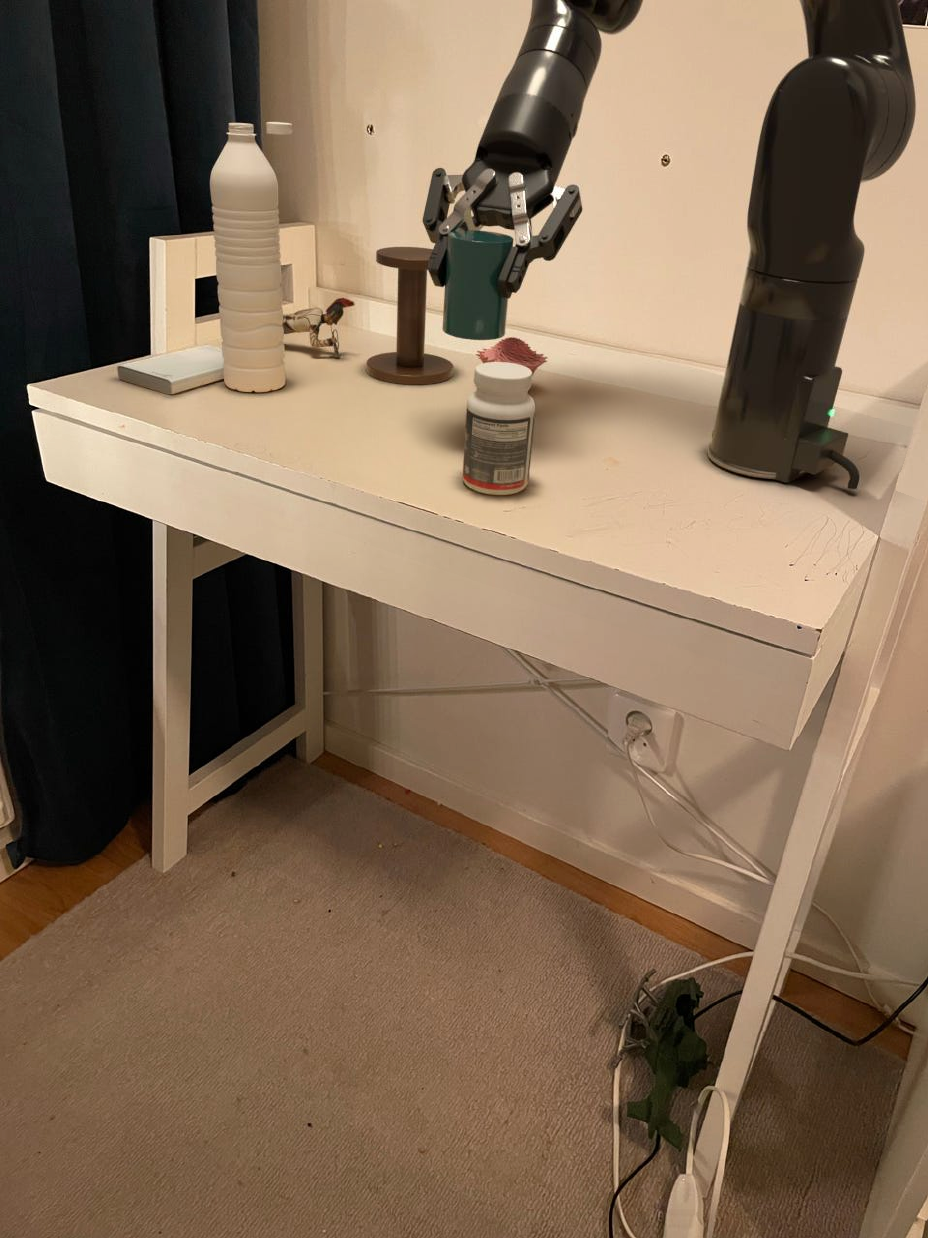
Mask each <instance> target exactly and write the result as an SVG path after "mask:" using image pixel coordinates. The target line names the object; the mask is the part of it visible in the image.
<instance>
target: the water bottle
mask: <svg viewBox="0 0 928 1238" xmlns="http://www.w3.org/2000/svg"><path fill="white" fill-rule="evenodd" d="M265 127H266V134H269V135H281V136H282V135H283V136H290V135H293V124H292V123H291V122H290V123H289V122H281V121H267V122H265ZM254 131H255V130H254V124H252V123H244V122H229V123H228V132H226V135H228V136H227V137H228V139H227V141H226V144H225V145H224V147H223V149H222V151H220V154H219V156H218V158H217V160H216V161H215V163H214V164H213V167H212V169H211V172H210V176H209V177H210V178H209V190H210V191H209V192H210V199H211V204H212V206H211V212H212V222H213V226H212V227H213V231H214V233H213V239H214V240H215V241H214V249H215V251H214V254H215V255H214V256H215V257H216V259H215V273H216V280H217V283H218V284H217V298H218V299H217V300H218V302H219V306H218V313H219V317H220V319H219V329H220V337H221V339H222V342H221V348H222V355H223V358H224V361H223V371H224V379H223V381H224V384H225V386H227V387H228V388H229V389H231V390H237V391H239V392H243V393H252V392H255V393H267V392H270V391H277V390H279V389H282V388H283V387H284V386H285V385H286V380H287V377H286V375H287V373H286V362H285V356H286V355H285V343H284V340H285V334H284V329H283V326H282V323H283V315H284V309H283V305H282V304H283V288H282V285H281V284H282V280H283V277H282V262H281V260H280V259H281V256H282V255H281V244H280V241H281V236H280V217H279V215H280V209H279V183H278V178H277V176H276V173H275V171H274V168H273V167H272V165H271V164H270V162H269V161H268V159H267V158H266V156H265V155H264V153H263V151H262V150H261V148H260V146H259V145H258V144H257V141H256V137H255V136H257V133H254Z"/></svg>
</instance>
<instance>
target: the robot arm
mask: <svg viewBox="0 0 928 1238" xmlns="http://www.w3.org/2000/svg"><path fill="white" fill-rule="evenodd" d="M798 1H799V4H800V7H801V12H802V17H803V21H804V22H803V23H804V29H805V36H806V44H807V45H806V47H807V58H804V59H803V60H801V61H800V62H798V63H797V64H795V65H794V66H793V67H792V68H791V69H790V70H788V72H786V73H785V75H784V76H783V77H782V79H780V81H779V83H778V85H777V86H776V88H775V89H774V91H773V93H772V94H771V97H770V100H769V102H768V105H767V108H766V111H765V114H764V117H763V121H762V125H761V129H760V134H759V138H758V142H757V143H758V144H757V150H756V155H755V161H754V169H753V175H752V180H751V181H752V182H751V188H750V193H749V194H750V195H749V200H748V206H747V207H748V208H747V213H746V214H747V216H746V231H747V237H748V242H749V253H748V258H747V264H746V269H745V274H744V278H743V284H742V288H741V293H740V298H739V302H738V307H737V313H736V317H735V321H734V328H733V332H732V336H731V342H730V347H729V351H728V357H727V361H726V365H725V366H726V367H725V370H724V371H725V372H724V377H723V381H722V386H721V391H720V396H719V401H718V405H717V411H716V416H715V422H714V425H713V426H714V427H713V430H712V433H711V441H710V444H709V445H708V449H707V456H708V458H709V459H710V460H711V461H712V462H713V463H714V464H716V465H717V466H719V467H721V468H723V469H725V470H728V471H730V472H733V473H736V474H740V475H743V476H748V477H753V478H758V479H767V480H776V481H779V482H782V483H785V484H787V483H790V482H792V481H794V480H796V479H798V478H800V477H803V476H805V475H806V474H808V473H809V474H810V475H817V474H818V473H821V472H823V471H824V470H826V469H829V468H831V467H832V466H835V465H837V464H838V465H839V466H840V467H842V468H843V469H845V471H847V473H848V475H849V480H848V482H847V489H849V490H857V489H858V485H859V483H860V471H859V470H858V467H857V466H856V465H855V463H854V462H853V461H852V460H850V459H849V458H848V457H846V456H844V451H845V448H846V445H847V440H848V438H849V433H848V432H845V431H842V430H838V429H835V428H831V427H829V424H830V420H831V417H833V416H834V414H835V409H833V408H834V404H835V402H836V397H837V394H838V390H839V387H840V382H841V379H842V375H843V369H842V368H841V367H840V366H836V364H837V360H838V358H839V357H838V356H839V353H840V350H841V345H842V341H843V337H844V334H845V329H846V326H847V322H848V318H849V315H850V310H851V307H852V303H853V298H854V295H855V291H856V288H857V284H858V279H859V277H860V274H861V269H862V266H863V262H864V258H865V251H866V250H865V244H864V243H863V241H862V240H861V238H860V237H859V236H858V234H857V231H856V229H855V213H856V208H857V203H858V197H859V193H860V189H861V184H864V183H868V182H871V181H873V180H875V179H877V178H879V177H881V176H882V175H885V173H887V172H888V171H889V170H890V169H892V167H893V166H894V165H895V164H896V163H897V162H898V161H899V159H900V158H901V157H902V155H903V153H904V152H905V150H906V148H907V145H908V144H909V141H910V139H911V137H912V133H913V129H914V125H915V119H916V111H917V110H916V107H917V105H916V103H917V102H916V101H917V100H916V91H915V83H914V77H913V73H912V72H913V71H912V67H911V62H910V56H909V52H908V46H907V42H906V36H905V31H904V26H903V20H902V14H901V9H900V4H899V0H798ZM643 4H644V0H531V10H530V18H529V21H528V26H527V30H526V32H525V35H524V38H523V41H522V43H521V46H520V48H519V51H518V53H517V56H516V59H515V61H514V63H513V65H512V67H511V69H510V71H509V72H508V74H507V75H506V77H505V79H504V81H503V83H502V85H501V88H500V90H499V92H498V95H497V98H496V100H495V103H494V105H493V108H492V110H491V112H490V115H489V117H488V119H487V122H486V125H485V127H484V130H483V131H482V135H481V137H480V140H479V142H478V144H477V148H476V152H475V156H474V160H473V162H472V163H471V164H470V166H469V167H467V168H466V169H465V170H464V172H463V173H462V174H447V171H446V169H445V168H444V167H437V168H435V169H433V172H432V174H431V178H430V182H429V187H428V192H427V198H426V201H425V207H424V211H423V215H422V220H421V221H422V223H423V226H424V229H425V232H426V234H427V236H428V239H429V241H430V242H431V243H432V244H434V246H433V248H432V249H433V251H432V254H431V256H430V258H429V261H428V263H427V269H428V270H427V272H429V276H430V278H431V280H432V283H433V285H434V287H440V288H445V274H446V256H447V237H448V233H449V232H452V231H460V230H476V231H482V229H483V228H484V227H489V228H490V227H500V228H503V229H505V230H510V231H514V238H515V239H514V241H515V245H514V246H513V247H512V246H511V248H510V250H509V252H508V255H507V257H506V260H505V263H504V265H503V268H502V270H501V273H500V276H499V278H498V282H497V287H498V290H499V293H500V296H501V297H502V298H508V300H509V299H511V297H512V295H513V294H517V293H518V291H520V289H521V287H522V284H523V282H524V279H525V276H526V274H527V271H528V269H529V266H530V264H531V263H533V262H534V261H535V260H539V259H543V260H544V261H546V262H550V261H553V260H554V259H555V258H556V256H557V255H558V253H559V252H560V250H561V248H562V247H563V245H564V244H565V242H566V240H567V238H568V237H569V236H570V235H569V234H570V233H571V232H572V230H573V228H574V226H575V224H576V223H577V222H578V220H579V217H580V216H581V214H582V212H583V203H582V202H583V201H582V196H581V191H580V188H579V185H577V184H569V185H567V186H566V187H565V188H563V187H561V186H560V187H559V186H557V185H556V183H557V181H558V178H559V176H560V174H561V171H562V168H563V165H564V163H565V161H566V157H567V155H568V153H569V150H570V147H571V144H572V142H573V139H574V138H575V137H576V135H577V131H578V128H579V123H580V120H581V117H582V113H583V107H584V103H585V100H586V97H587V94H588V93H589V89H590V86H591V83H592V81H593V78H594V77H595V74H596V71H597V69H598V65H599V62H600V60H601V56H602V49H603V43H602V38H601V37H602V36H601V34H600V33H602V34H604V35H609V36H615V35H618V34H621V33H622V32H624V31H625V30H627V29H628V28H629V27H630V26H631V25H632V24H633V23H634V21H635V20H636V19H637V17H638V15H639V13H640V11H641V8H642V6H643ZM461 192H464V194H462V196H461V197H460V198H459V199H458V200H457V201H456V198H457V197H458V194H459V193H461ZM453 204H454V206H453V210H452V212H451V213H450V214H449V209H450V205H453ZM551 205H552V210H551V213H550V214H549V216H548V218H547V219H546V221H545V223H544V224H543V226H542V228H541V229H540V231H539V233H538V234H537V235H534V232H533V222H532V219H533V218H535V216H537V215H539V214H540V213H541V212H542V211H544V210H545V209H546V208H548V207H549V206H551ZM448 214H449V215H448Z"/></svg>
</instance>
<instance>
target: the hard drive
mask: <svg viewBox="0 0 928 1238" xmlns="http://www.w3.org/2000/svg"><path fill="white" fill-rule="evenodd" d="M223 361H224V358H223V355H222V347H218V346H213V345H210V344H203V345H199V346H195V347H189V348H187V349H182V350H178V351H173V352H169V353H165V354H161V355H158V356H157V355H156V356H153V357H149V358H145V359H141V360H137V361H132V362H128V363H124V364H120V365H117V367H116V369H117V377H118V379H120V380H122V381H124V382H128V383H130V384H134V385H137V386H141V387H144V388H148V389H149V390H153V391H157V392H160V393H163V394H167V395H175V394H177V393H180V392H184V391H188V390H191V389H194V388H197V387H201V386H204V385H207V384H210V383H214V382H217V381H221V380H224V371H223Z"/></svg>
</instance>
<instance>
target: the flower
mask: <svg viewBox="0 0 928 1238" xmlns="http://www.w3.org/2000/svg"><path fill="white" fill-rule="evenodd" d="M475 356H477V357H478V360H480V361H481V362H482V363H487V362H508V363H515V364H519V365H522V366H525V367H527V368H529V369H530V370H531V371H532V377H534V374H535V372H536V371H537V369H538V368H539V367H540V366H542V365H544V364H545V363H547V362H548V360H547V359H548V356H545V354H544V353H537V350H532V347H531V346H529V343H526V341H524V340H523V339H521V338H518V337H514V336H511V337H505V338H504V339H503V338H502V339H501V340H499V341H498V342H496V343H495V345H493V346H490V348H482V350H477V351H476V353H475Z"/></svg>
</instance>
